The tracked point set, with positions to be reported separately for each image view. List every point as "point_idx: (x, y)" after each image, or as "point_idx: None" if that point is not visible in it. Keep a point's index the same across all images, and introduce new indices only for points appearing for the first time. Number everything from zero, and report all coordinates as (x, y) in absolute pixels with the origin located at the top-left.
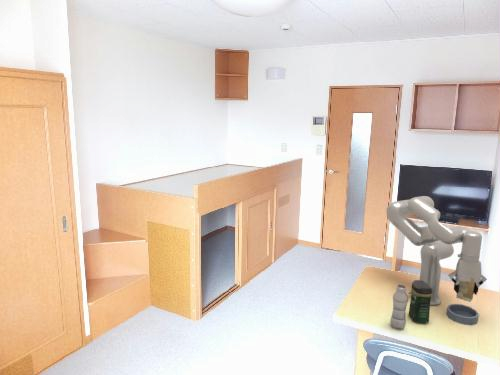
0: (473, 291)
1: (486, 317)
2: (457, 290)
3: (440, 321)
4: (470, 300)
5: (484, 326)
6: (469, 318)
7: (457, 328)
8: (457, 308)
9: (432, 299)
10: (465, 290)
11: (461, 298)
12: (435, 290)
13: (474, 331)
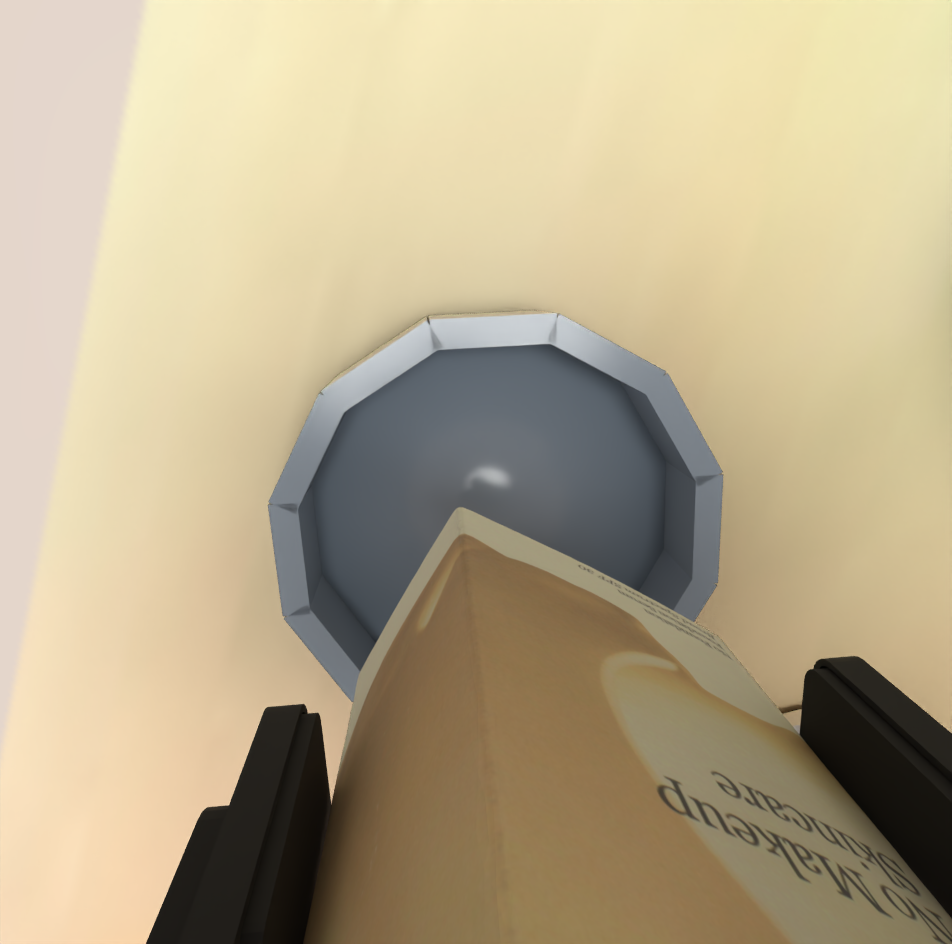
0: (350, 800)
1: (149, 600)
2: (901, 700)
3: (822, 308)
4: (459, 519)
5: (235, 330)
6: (459, 318)
7: (645, 160)
8: None
9: None
10: (669, 722)
11: (637, 597)
12: None
13: (419, 132)
